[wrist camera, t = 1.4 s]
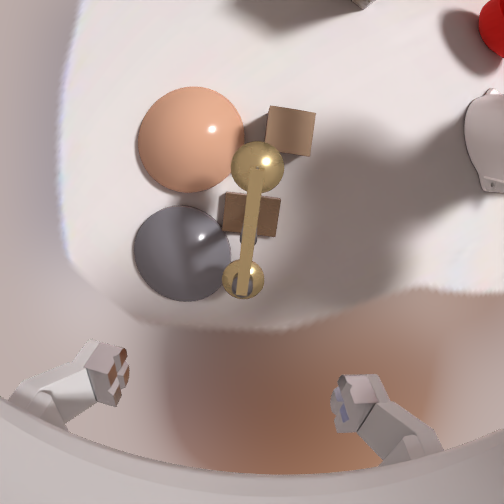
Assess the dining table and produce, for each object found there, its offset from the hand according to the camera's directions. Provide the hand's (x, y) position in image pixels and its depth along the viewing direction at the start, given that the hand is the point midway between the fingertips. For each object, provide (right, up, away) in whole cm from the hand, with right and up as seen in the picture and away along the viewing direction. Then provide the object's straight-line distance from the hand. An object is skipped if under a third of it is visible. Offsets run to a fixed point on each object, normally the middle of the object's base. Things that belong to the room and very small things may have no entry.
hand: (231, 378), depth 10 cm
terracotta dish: (-7, +19, +25) cm, 32 cm away
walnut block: (+5, +20, +25) cm, 32 cm away
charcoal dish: (-9, +4, +30) cm, 32 cm away
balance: (+1, +10, +28) cm, 30 cm away
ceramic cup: (+46, +45, +15) cm, 66 cm away
